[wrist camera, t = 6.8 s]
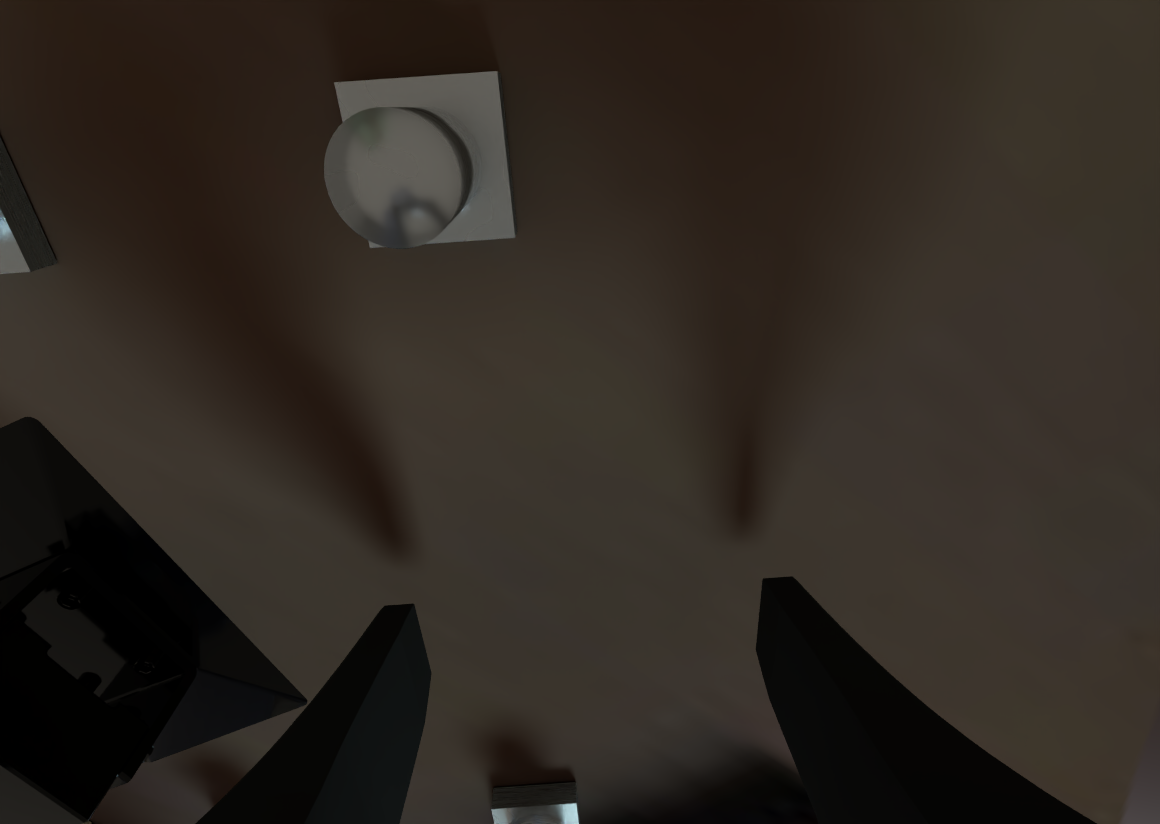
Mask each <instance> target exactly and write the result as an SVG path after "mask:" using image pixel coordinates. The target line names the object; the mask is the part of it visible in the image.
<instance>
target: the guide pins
mask: <svg viewBox="0 0 1160 824" xmlns="http://www.w3.org/2000/svg"><path fill="white" fill-rule="evenodd" d="M334 84H335V89H336V93H337V98H338V103H339V107H340V112H341V116H342V121H343V123H342V124H341V125H340V126H339V127H338V128H337V130H336V131H335V132H334V134H333V136H332V138H331V139H330V141H329V144H328V147H327V150H326V154H325V161H324V177H325V183H326V187H327V191H328V194H329V197H330V199H331V201H332V204H333V205H334V207H335V209H336V211H337V212H338V214H339V215H340V216H341V218H342V219H343V220H344V221H345V223H346V224H347V225H348V226H349V227H350V228H351V229H353V230H354V231H355V232H356V233H357V234H359V235H360V236H362V237H363V238H365V239H367V240H368V241H369V246H370V248H376V247H388V248H396V249H406V248H413V247H417V246H420V245H423V244H433V243H447V242H461V241H476V240H490V239H504V238H515V237H516V234H517V223H516V214H515V204H514V195H513V186H512V176H511V167H510V157H509V148H508V138H507V129H506V120H505V110H504V101H503V91H502V82H501V73H499V72H498V71H491V72H477V73H463V74H448V75H434V76H420V77H405V78H391V79H377V80H362V81H348V82H334ZM54 264H57V261H56V259H55V257H54V255H53V252H52V250H51V248H50V246H49V244H48V241H47V239H46V237H45V235H44V233H43V230H42V228H41V226H40V224H39V221H38V219H37V217H36V215H35V213H34V210H33V208H32V206H31V204H30V202H29V199H28V197H27V195H26V193H25V191H24V188H23V186H22V184H21V182H20V179H19V177H18V175H17V173H16V171H15V168H14V166H13V164H12V162H11V160H10V157H9V155H8V153H7V151H6V148H5V146H4V144H3V142H2V140H1V137H0V274H5V273H20V272H31V271H34V270H38V269H41V268H44V267H47V266H51V265H54ZM491 810H492V815H493V819H494V824H580V816H579V807H578V797H577V788H576V782H569V783H555V784H541V785H527V786H514V787H500V788H493V798H492V808H491Z"/></svg>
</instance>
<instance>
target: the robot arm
mask: <svg viewBox="0 0 1160 824" xmlns="http://www.w3.org/2000/svg"><path fill="white" fill-rule="evenodd" d="M756 652H757V656H758V660H759V663H760V667H761V671H762V675H763V678H764V682H765V685H766V689H767V692H768V696H769V699H770V702H771V704H772V707H773V709H774V712H775V714H776V717H777V719H778V722H779V724H780V727H781V730H782V732H783V735H784V737H785V740H786V742H787V744H788V747H789V749H790V752H791V754H792V757H793V759H794V762H795V764H796V767H797V769H798V772H799V774H800V777H801V779H802V782H803V784H804V786H805V789H806V791H807V794H808V796H809V799H810V801H811V804H812V806H813V809H814V811H815V814H816V817H817V819H818V822H819V824H1096V823H1095V822H1093V821H1092V820H1090V819H1088V818H1087V817H1085V816H1083V815H1082V814H1080V813H1078V812H1077V811H1075V810H1073V809H1072V808H1070V807H1068V806H1067V805H1065V804H1064V803H1062V802H1061V801H1059V800H1057V799H1056V798H1054V797H1053V796H1051V795H1050V794H1048V793H1046V792H1045V791H1043V790H1042V789H1040V788H1039V787H1037V786H1036V785H1034V784H1033V783H1031V782H1030V781H1028V780H1027V779H1026V778H1024V777H1023V776H1021V775H1020V774H1018V773H1017V772H1015V771H1014V770H1012V769H1011V768H1009V767H1008V766H1006V765H1005V764H1003V763H1002V762H1001V761H999V760H998V759H996V758H995V757H993V756H992V755H990V754H989V753H988V752H986V751H985V750H983V749H982V748H981V747H979V746H978V745H977V744H975V743H974V742H972V741H971V740H970V739H968V738H967V737H966V736H965V735H963V734H962V733H961V732H959V731H958V730H957V729H955V728H954V727H953V726H952V725H950V724H949V723H948V722H946V721H945V720H944V719H943V718H941V717H940V716H939V715H938V714H936V713H935V712H934V711H933V710H931V709H930V708H929V707H928V706H927V705H925V704H924V703H923V702H922V701H921V700H919V699H918V698H917V697H916V696H915V695H914V694H912V693H911V692H910V691H909V690H908V689H907V688H906V687H904V686H903V685H902V684H901V683H900V682H899V681H898V680H896V679H895V678H894V677H893V676H892V675H891V674H890V673H889V672H888V671H887V670H885V669H884V668H883V667H882V666H881V665H880V664H879V663H878V662H877V661H876V660H875V659H874V658H873V657H872V656H871V655H870V654H868V653H867V652H866V651H865V650H864V649H863V648H862V647H861V646H860V645H859V644H858V643H857V642H856V641H855V640H854V639H853V638H852V637H851V636H850V635H849V634H848V633H847V632H846V631H845V630H844V629H843V628H842V627H841V626H840V625H839V624H838V623H837V622H836V621H835V620H834V619H833V618H832V617H831V616H830V615H829V614H828V613H827V612H826V611H825V610H824V609H823V608H822V607H821V606H820V604H819V603H818V602H817V601H816V600H815V599H814V598H813V597H812V596H811V595H810V594H809V593H808V592H807V591H806V590H805V589H804V588H803V586H802V585H801V584H800V583H799V582H798V581H797V580H796V579H795V578H793V577H778V578H764V579H763V581H762V591H761V602H760V612H759V622H758V633H757V643H756ZM430 680H431V670H430V666H429V662H428V658H427V654H426V650H425V646H424V642H423V638H422V634H421V630H420V626H419V622H418V618H417V614H416V610H415V606H414V604H402V605H388V606H384V607H383V608H382V609H381V610H380V611H379V613H378V614H377V616H376V617H375V618H374V620H373V621H372V622H371V624H370V625H369V627H368V628H367V629H366V631H365V632H364V633H363V635H362V636H361V638H360V639H359V640H358V642H357V643H356V644H355V646H354V647H353V648H352V650H351V651H350V652H349V654H348V655H347V656H346V658H345V659H344V660H343V662H342V663H341V664H340V666H339V667H338V668H337V670H336V671H335V672H334V673H333V675H332V676H331V677H330V678H329V680H328V681H327V682H326V684H325V685H324V686H323V687H322V689H321V690H320V691H319V693H318V694H317V695H316V696H315V698H314V699H313V700H312V701H311V702H310V704H309V705H308V706H307V707H306V708H305V709H304V711H303V712H302V713H301V714H300V715H299V717H298V718H297V719H296V720H295V721H294V722H293V724H292V725H291V726H290V727H289V728H288V729H287V731H286V732H285V733H284V734H283V735H282V736H281V738H280V739H279V740H278V741H277V742H276V743H275V744H274V745H273V746H272V748H271V749H270V750H269V751H268V752H267V753H266V754H265V755H264V756H263V757H262V758H261V760H260V761H259V762H258V763H257V764H256V765H255V766H254V767H253V768H252V769H251V770H250V771H249V772H248V773H247V774H246V775H245V776H244V777H243V778H242V779H241V780H240V781H239V782H238V783H237V784H236V785H235V786H234V787H233V788H232V789H231V790H230V791H229V792H228V793H227V794H226V795H225V796H224V797H223V798H222V799H221V800H220V801H219V802H218V803H217V804H216V805H215V806H214V807H213V808H212V809H211V810H210V811H209V812H207V813H206V814H205V815H204V816H203V817H202V818H201V819H200V820H199V821H198V822H197V823H196V824H399V823H400V819H401V815H402V811H403V807H404V803H405V799H406V795H407V792H408V788H409V784H410V780H411V776H412V772H413V768H414V764H415V760H416V756H417V752H418V748H419V744H420V740H421V736H422V732H423V728H424V724H425V717H426V710H427V703H428V696H429V688H430Z"/></svg>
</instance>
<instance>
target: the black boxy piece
mask: <svg viewBox="0 0 1160 824" xmlns="http://www.w3.org/2000/svg"><path fill="white" fill-rule="evenodd" d="M306 704H307V699H306V698H305V697H304V696H303V695H302V694H301V693H300V692H299V691H298V690H297V689H296V688H295V687H294V686H293V685H292V684H291V683H290V682H289V680H288V679H287V678H286V677H285V676H284V675H283V674H282V673H281V672H280V671H279V670H278V669H277V668H276V667H275V666H274V665H273V664H272V663H271V662H270V661H269V660H268V659H267V658H266V657H265V656H264V654H263V653H262V652H261V651H260V650H259V649H258V648H257V647H256V646H255V645H254V644H253V643H252V642H251V641H250V640H249V639H248V638H247V637H246V636H245V635H244V634H243V633H242V632H241V631H240V630H239V628H238V627H237V626H236V625H235V624H234V623H233V622H232V621H231V620H230V619H229V618H228V617H227V616H226V615H225V614H224V613H223V612H222V611H221V610H220V609H219V608H218V607H217V606H216V605H215V604H214V602H213V601H212V600H211V599H210V598H209V597H208V596H207V595H206V594H205V593H204V592H203V591H202V590H201V589H200V588H199V587H198V586H197V585H196V584H195V583H194V582H193V581H192V580H191V579H190V578H189V576H188V575H187V574H186V573H185V572H184V571H183V570H182V569H181V568H180V567H179V566H178V565H177V564H176V563H175V562H174V561H173V560H172V559H171V558H170V557H169V556H168V555H167V554H166V553H165V552H164V550H163V549H162V548H161V547H160V546H159V545H158V544H157V543H156V542H155V541H154V540H153V539H152V538H151V537H150V536H149V535H148V534H147V533H146V532H145V531H144V530H143V529H142V528H141V527H140V526H139V524H138V523H137V522H136V521H135V520H134V519H133V518H132V517H131V516H130V515H129V514H128V513H127V512H126V511H125V510H124V509H123V508H122V507H121V506H120V505H119V504H118V503H117V502H116V501H115V500H114V498H113V497H112V496H111V495H110V494H109V493H108V492H107V491H106V490H105V489H104V488H103V487H102V486H101V485H100V484H99V483H98V482H97V481H96V480H95V479H94V478H93V477H92V476H91V475H90V474H89V473H88V471H87V470H86V469H85V468H84V467H83V466H82V465H81V464H80V463H79V462H78V461H77V460H76V459H75V458H74V457H73V456H72V455H71V454H70V453H69V452H68V451H67V450H66V449H65V448H64V447H63V445H62V444H61V443H60V442H59V441H58V440H57V439H56V438H55V437H54V436H53V435H52V434H51V433H50V432H49V431H48V430H47V429H46V428H45V427H44V426H43V425H42V424H41V423H40V422H39V421H38V420H36V419H34V418H32V417H24V418H22V419H20V420H17V421H15V422H13V423H11V424H9V425H7V426H4V427H2V428H0V824H83V823H86V822H88V821H89V819H90V818H91V816H92V815H93V813H94V811H95V810H96V808H97V807H98V805H99V804H100V802H101V801H102V799H103V798H104V796H105V795H106V793H107V792H108V790H109V789H111V788H114V787H117V786H120V785H123V784H125V783H128V782H129V781H130V780H131V779H132V778H133V776H134V774H135V773H136V771H137V770H138V768H139V766H140V765H141V764H142V763H143V762H153V761H156V760H159V759H161V758H164V757H167V756H169V755H172V754H175V753H178V752H180V751H183V750H186V749H188V748H191V747H194V746H196V745H199V744H202V743H204V742H207V741H210V740H213V739H215V738H218V737H221V736H223V735H226V734H229V733H231V732H234V731H237V730H239V729H242V728H245V727H247V726H250V725H253V724H256V723H258V722H261V721H264V720H266V719H269V718H272V717H274V716H277V715H280V714H282V713H285V712H288V711H291V710H293V709H296V708H299V707H301V706H304V705H306Z"/></svg>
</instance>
